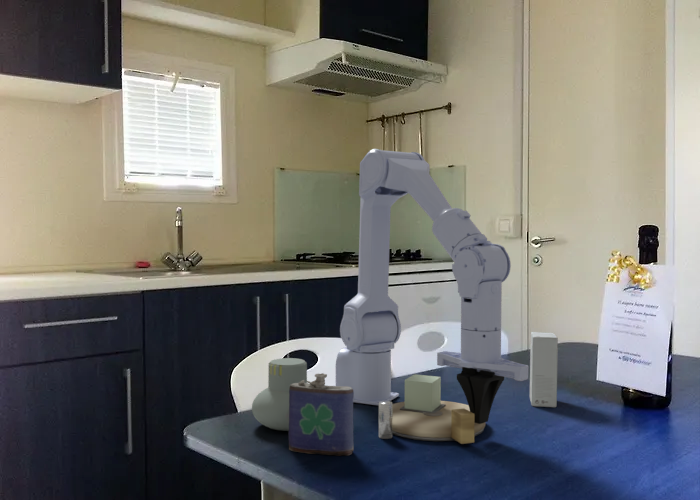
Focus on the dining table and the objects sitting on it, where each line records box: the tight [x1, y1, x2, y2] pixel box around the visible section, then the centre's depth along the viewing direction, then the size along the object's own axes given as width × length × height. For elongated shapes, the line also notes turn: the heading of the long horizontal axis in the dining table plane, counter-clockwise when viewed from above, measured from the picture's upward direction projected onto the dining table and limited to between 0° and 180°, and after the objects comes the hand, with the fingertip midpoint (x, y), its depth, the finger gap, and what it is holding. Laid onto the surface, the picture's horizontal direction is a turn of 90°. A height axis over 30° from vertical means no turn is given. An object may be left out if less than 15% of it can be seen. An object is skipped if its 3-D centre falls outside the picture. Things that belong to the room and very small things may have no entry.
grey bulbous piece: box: [251, 357, 308, 432], centre depth 102 cm, size 11×8×10 cm
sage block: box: [404, 373, 442, 412], centre depth 106 cm, size 4×4×4 cm
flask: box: [287, 372, 354, 456], centre depth 91 cm, size 9×3×11 cm, turn 74°
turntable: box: [392, 400, 487, 445], centre depth 102 cm, size 16×16×4 cm
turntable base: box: [378, 401, 485, 442], centre depth 102 cm, size 16×17×5 cm
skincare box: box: [529, 331, 559, 408], centre depth 116 cm, size 6×4×12 cm
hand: (480, 421), depth 96 cm, fingers closed
